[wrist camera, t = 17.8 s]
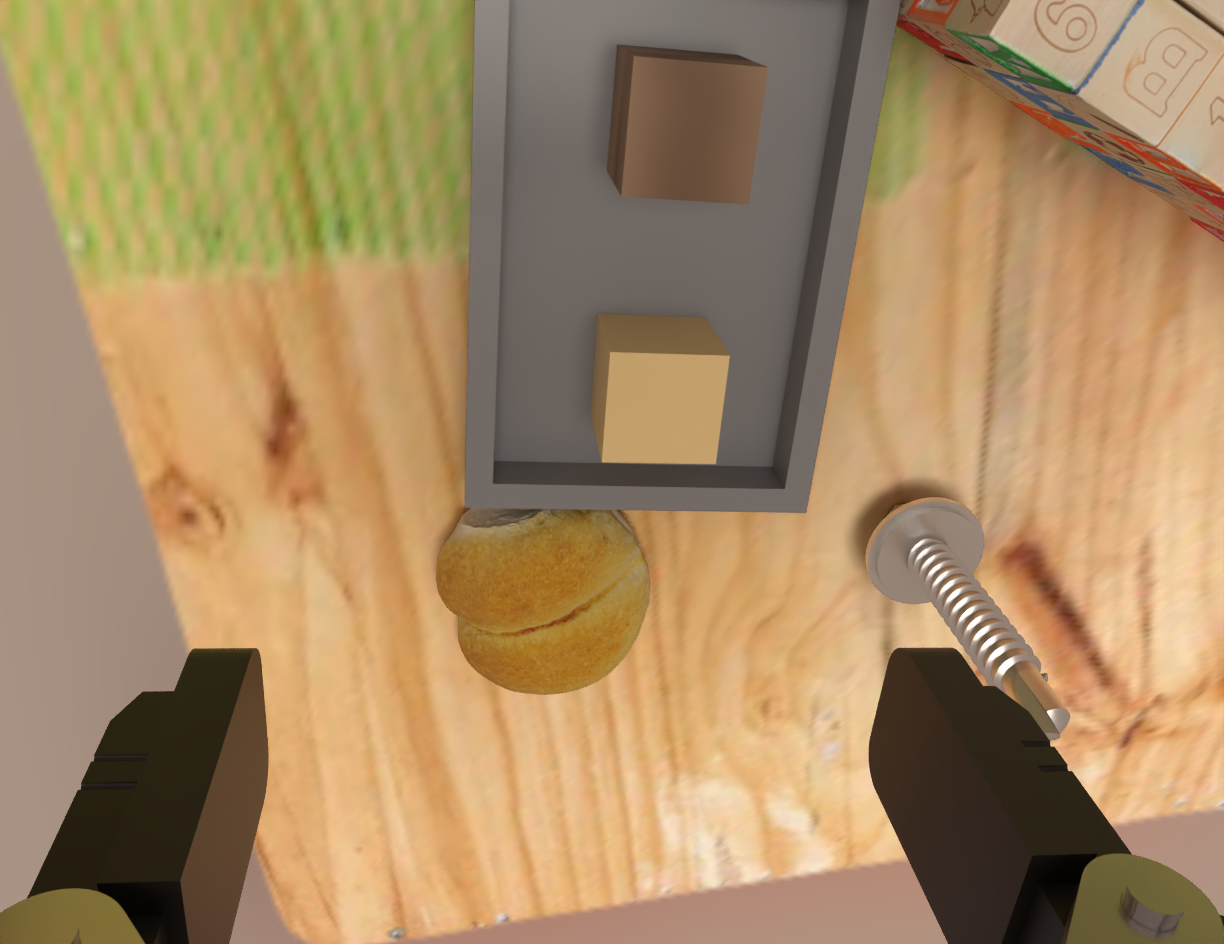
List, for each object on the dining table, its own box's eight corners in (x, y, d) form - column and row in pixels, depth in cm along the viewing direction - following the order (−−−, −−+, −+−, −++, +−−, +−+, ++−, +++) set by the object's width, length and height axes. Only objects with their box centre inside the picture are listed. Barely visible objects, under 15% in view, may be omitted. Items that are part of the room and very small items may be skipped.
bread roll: (482, 684, 46) (483, 747, 42) (416, 512, 41) (410, 565, 38) (666, 635, 46) (682, 693, 42) (618, 457, 41) (631, 505, 38)
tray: (879, -37, 34) (907, -35, 32) (788, 483, 42) (806, 512, 40) (476, -73, 32) (476, -75, 30) (465, 476, 41) (464, 507, 38)
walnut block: (737, 54, 34) (768, 67, 31) (721, 179, 36) (749, 204, 33) (617, 44, 34) (633, 55, 30) (606, 171, 36) (621, 196, 32)
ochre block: (706, 317, 38) (729, 355, 35) (694, 418, 40) (715, 464, 36) (597, 313, 38) (610, 352, 34) (590, 415, 39) (601, 462, 36)
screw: (878, 595, 46) (833, 514, 43) (978, 541, 45) (938, 456, 43) (1014, 815, 34) (962, 719, 32) (1153, 747, 33) (1109, 644, 31)
